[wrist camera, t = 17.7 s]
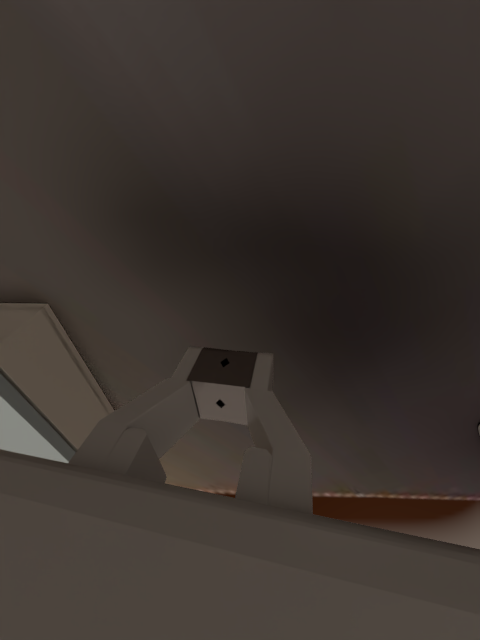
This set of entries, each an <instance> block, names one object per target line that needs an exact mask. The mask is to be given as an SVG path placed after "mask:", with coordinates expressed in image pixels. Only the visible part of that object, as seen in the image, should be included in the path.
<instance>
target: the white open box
mask: <svg viewBox="0 0 480 640" xmlns="http://www.w3.org/2000/svg"><path fill="white" fill-rule="evenodd" d="M0 374H1V375H2V376H3V377H4V378H5V379H6V380H7V381H8V382H9V383H10V384H11V385H12V386H13V387H14V388H15V389H16V390H17V391H18V392H19V394H20V395H21V396H22V397H23V398H24V399H25V400H26V401H27V402H28V403H29V404H30V405H31V406H32V407H33V408H34V409H35V410H36V411H37V412H38V413H39V415H40V416H41V417H42V418H43V419H44V420H45V421H46V422H47V423H48V424H49V425H50V426H51V427H52V428H53V429H54V430H55V431H56V432H57V433H58V434H59V435H60V437H61V438H62V439H63V440H64V441H65V442H66V443H67V444H68V445H69V446H70V447H71V448H72V449H73V450H74V451H75V452H77V450H78V449H79V448H80V446H81V445H82V444H83V442H84V441H85V439H86V438H87V437H88V435H89V434H90V433H91V431H92V430H93V429H94V427H95V426H96V425H97V423H98V422H99V421H100V420H101V419H103V418H104V417H106V416H108V415H109V414H111V413H112V412H114V409H113V407H112V406H111V404H110V403H109V401H108V399H107V398H106V396H105V395H104V393H103V391H102V390H101V388H100V386H99V385H98V383H97V382H96V380H95V378H94V377H93V375H92V374H91V372H90V370H89V369H88V367H87V366H86V364H85V362H84V361H83V359H82V357H81V356H80V354H79V353H78V351H77V349H76V348H75V346H74V345H73V343H72V341H71V340H70V338H69V337H68V335H67V333H66V332H65V330H64V328H63V327H62V325H61V324H60V322H59V320H58V319H57V317H56V316H55V314H54V312H53V311H52V309H51V308H50V306H49V304H39V303H0Z"/></svg>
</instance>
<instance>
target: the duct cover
mask: <svg viewBox="0 0 480 640" xmlns="http://www.w3.org/2000/svg"><path fill="white" fill-rule="evenodd" d="M0 449H2V450H6V451H11V452H16V453H21V454H26V455H30V456H35V457H40V458H45V459H50V460H54V461H59V462H64V463H68V462H69V461H70V460H71V458H72V457H73V456H74V454H75V453H76V452H75V451H74V450H73V449H72V448H71V447H70V446H69V445H68V444H67V443H66V442H65V441H64V440H63V439H62V438H61V437H60V435H59V434H58V433H57V432H56V431H55V430H54V429H53V428H52V427H51V426H50V425H49V424H48V423H47V422H46V421H45V420H44V419H43V418H42V417H41V416H40V415H39V413H38V412H37V411H36V410H35V409H34V408H33V407H32V406H31V405H30V404H29V403H28V402H27V401H26V400H25V399H24V398H23V397H22V396H21V395H20V394H19V392H18V391H17V390H16V389H15V388H14V387H13V386H12V385H11V384H10V383H9V382H8V381H7V380H6V379H5V378H4V377H3V376H2V375H1V374H0Z"/></svg>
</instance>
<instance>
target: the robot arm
mask: <svg viewBox="0 0 480 640" xmlns="http://www.w3.org/2000/svg"><path fill="white" fill-rule="evenodd" d="M273 363H274V356H273V353H260V352H259V353H257V352H245V351H232V350H222V349H214V348H205V347H204V348H202V347H193V346H191V347H189V348H188V349H187V351H186V353H185V354H184V356H183V358H182V359H181V361H180V363H179V365H178V366H177V368H176V370H175V372H174V373H173V375H172V377H171V379H165V380H163V381H162V382H160V383H159V384H157V385H155V386H154V387H152V388H151V389H149V390H147V391H146V392H144V393H143V394H141V395H139V396H138V397H136V398H135V399H133V400H131V401H130V402H128V403H127V404H125V405H123V406H122V407H120V408H119V409H117V410H116V411H114V412H112V413H111V414H109V415H108V416H106V417H104V418H103V419H101V420H100V421H99V422H98V423H97V425H96V426H95V427H94V429H93V430H92V431H91V433H90V434H89V435H88V437H87V438H86V439H85V441H84V442H83V444H82V445H81V446H80V448H79V449H78V450H77V452H76V453H75V454H74V456H73V457H72V458H71V460H70V461H69V462H68V463H64V462H59V461H54V460H50V459H45V458H40V457H35V456H30V455H26V454H21V453H16V452H11V451H6V450H2V449H0V640H480V549H475V548H470V547H466V546H461V545H456V544H452V543H447V542H442V541H437V540H432V539H428V538H422V537H418V536H413V535H409V534H404V533H399V532H394V531H389V530H384V529H380V528H375V527H370V526H365V525H360V524H356V523H351V522H346V521H342V520H337V519H332V518H327V517H322V516H318V515H313V514H312V473H311V455H310V453H309V451H308V450H307V448H306V446H305V445H304V443H303V441H302V440H301V438H300V436H299V435H298V433H297V431H296V430H295V428H294V426H293V425H292V423H291V421H290V420H289V418H288V416H287V415H286V413H285V411H284V410H283V408H282V406H281V405H280V403H279V401H278V400H277V398H276V396H275V395H274V393H273ZM199 418H201V419H210V420H218V421H226V422H231V423H237V424H243V425H248V429H249V431H250V434H251V437H252V439H253V442H254V445H255V447H256V448H255V447H250V448H248V449H247V450H246V451H245V453H244V458H243V463H242V468H241V472H240V477H239V482H238V487H237V492H236V497H235V498H231V497H226V496H222V495H217V494H213V493H208V492H203V491H198V490H193V489H189V488H184V487H179V486H174V485H169V484H165V480H166V478H167V477H166V474H165V472H164V470H163V467H162V465H161V463H160V461H159V459H160V458H161V457H162V456H163V455H164V454H165V453H166V452H167V451H168V450H169V449H170V448H171V447H172V446H173V445H174V444H175V443H176V442H177V441H178V440H179V439H180V438H181V437H182V436H183V435H184V434H185V433H186V432H187V431H188V430H190V429H191V428H192V427H193V426H194V425H195V424H196V423H197V422H198V421H199ZM478 430H479V435H480V425H479V426H478Z"/></svg>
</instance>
